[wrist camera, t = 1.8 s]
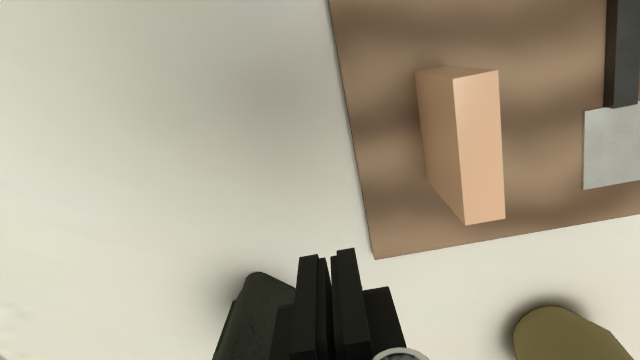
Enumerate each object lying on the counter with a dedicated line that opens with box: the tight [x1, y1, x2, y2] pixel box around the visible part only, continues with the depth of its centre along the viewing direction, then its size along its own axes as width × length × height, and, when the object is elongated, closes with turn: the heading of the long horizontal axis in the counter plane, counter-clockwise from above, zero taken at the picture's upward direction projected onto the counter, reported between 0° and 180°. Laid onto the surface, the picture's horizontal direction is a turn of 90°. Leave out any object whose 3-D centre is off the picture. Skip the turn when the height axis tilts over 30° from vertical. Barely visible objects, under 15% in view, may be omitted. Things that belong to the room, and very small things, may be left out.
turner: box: [581, 0, 640, 190], centre depth 26 cm, size 17×4×1 cm, turn 11°
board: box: [328, 0, 640, 260], centre depth 28 cm, size 20×21×1 cm
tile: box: [414, 65, 505, 226], centre depth 23 cm, size 8×2×8 cm, turn 11°
